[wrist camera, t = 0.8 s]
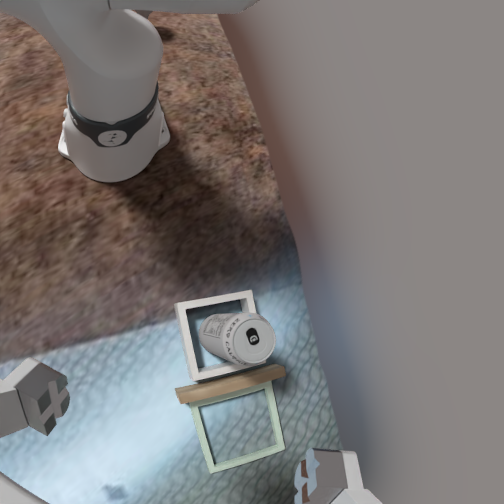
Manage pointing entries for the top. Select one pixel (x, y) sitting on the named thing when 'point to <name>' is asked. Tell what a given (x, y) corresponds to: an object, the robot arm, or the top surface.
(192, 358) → the socket
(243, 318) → the energy drink can
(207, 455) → the socket
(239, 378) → the rail
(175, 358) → the top surface
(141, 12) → the light bulb
